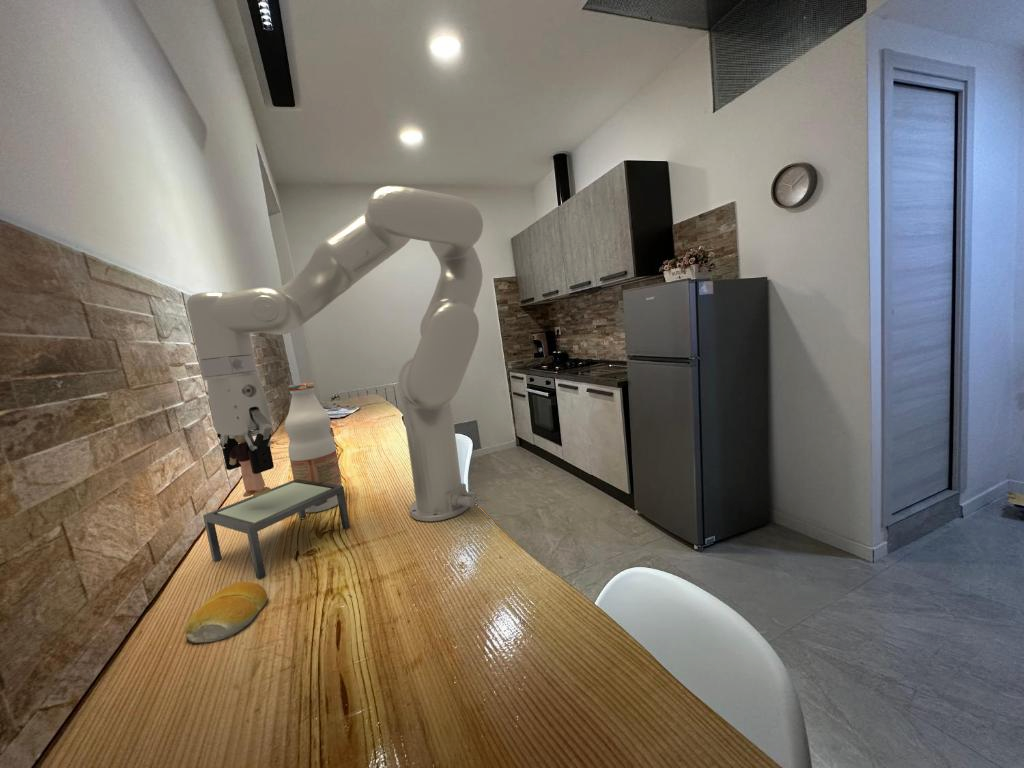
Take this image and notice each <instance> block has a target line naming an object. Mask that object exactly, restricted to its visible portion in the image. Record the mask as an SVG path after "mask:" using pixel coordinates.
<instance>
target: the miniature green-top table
mask: <svg viewBox="0 0 1024 768" xmlns="http://www.w3.org/2000/svg"><path fill="white" fill-rule="evenodd" d="M294 482H295V483H301V484H308V485H314V486H320V487H326V488H332V489H331V490H329V491H327V492H325V493H322V494H320V495H318V496H316V497H313V498H311V499H309V500H307V501H305V502H302V503H300V504H298V505H296V506H293V507H291V508H289V509H287V510H285V511H282V512H280V513H278V514H276V515H273V516H271V517H269V518H267V519H264V520H262V521H260V522H258V523H256V524H253V525H252V524H248V523H244V522H241V521H237V520H234V519H230V518H226V517H223V516H219V515H217V513H218V512H220V511H223V510H225V509H228V508H230V507H233V506H235V505H238V504H240V503H243V502H246V501H248V500H251V499H253V498H256V497H254V496H253V495H251V496H248V497H245V498H244V499H242V500H240V501H237V502H233V503H232V504H228V505H226V506H223V507H220V508H219V509H215V510H214V511H211V512H209V513H206V514H203V515H202V517H203V522H204V527H205V532H206V536H207V541H208V545H209V550H210V554H211V559H212V562H215V563H217V562H218V561H220V560H221V561H222V559H223V558H222V553H221V548H220V547H221V546H220V543H219V537H218V534H217V529H216V526H220V527H223V528H226V529H227V528H228V529H230V530H234V531H237V532H239V533H243V534H247V535H246V536H247V539H248V544H249V549H250V550H249V551H250V554H251V559H252V565H253V570H254V573H255V579H257V580H262V579H263V578H265V577H266V576H267V573H266V568H265V563H264V557H263V554H262V553H263V552H262V548H261V543H260V538H259V533H258V532H261V531H262V530H264V529H267V528H269V527H270V526H273V525H274V524H277V523H279V522H281V521H284V520H286V519H287V518H289V517H292V516H294V515H296V514H298V515H297V516H298V519H299V518H301V519H300V520H303V519H302V518H304V519H306V518H307V513H306V512H305V509H307V508H309V507H311V506H313V505H315V504H318V503H320V502H322V501H324V500H326V499H328V498H330V497H332V496H335V495H337V499H338V505H337V506H338V509H339V517H340V523H341V528H342V529H341V530H344V529H347V530H349V529H350V528H351V523H350V518H349V512H348V511H349V510H348V506H347V499H346V494H345V488H344V485H342V486H340V485H333V484H327V483H320V482H313V481H307V480H300V479H295V480H294V479H293V480H291V481H288V482H286V483H282V484H280V485H277V486H276V487H272V488H270V489H271V490H272V491H273V490H276V489H278V488H281V487H284V486H286V485H289V484H291V483H294ZM305 517H306V518H305ZM348 528H349V529H348Z"/></svg>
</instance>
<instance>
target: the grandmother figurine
mask: <svg viewBox="0 0 1024 768" xmlns="http://www.w3.org/2000/svg"><path fill="white" fill-rule="evenodd" d="M229 438H231V439H235V440H236V441H237V442H238V443H239V444H238V445H236V446H235V447H234V448H233V449H232V451H231V453H230V454H229V456H230V462H229V463H230V465H235V464H236V460H237V459H238V461H239V463H240V464H241V467H240V469H241V470H240V471H241V478H242V482H243V487H244V490H245V492H244V493H243V495H242V496H243V498H244V497H245V498H249V497H252V496H254V497H258V496H261V495H264V494H267V493H269V492H271V491H272V490H271V489H272V488H270V487H268V486H266V483H265V479H264V477H263V474H262V472H261V473H258V474H253V472H252V468H251V463H250V458H249V453H248V451H250V450H251V449H250V447H249V445H248V443H247V441H246V439H245V438H244V436H233V435H230V436H229Z"/></svg>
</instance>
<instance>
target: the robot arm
mask: <svg viewBox="0 0 1024 768" xmlns="http://www.w3.org/2000/svg"><path fill="white" fill-rule="evenodd" d="M483 228H484V220H483V216H482V214H481V211H480V210H479V209H478V207H476V205H475V204H473V202H471V201H469V200H468V199H465V198H463V197H460V196H455V195H451V194H448V193H440V192H435V191H431V190H425V189H419V188H413V187H408V186H402V185H401V186H400V185H386V186H382V187H381V186H380V187H379V188H377V189H376V190H374V191H373V192H372V193H371V195H370V197H369V198H368V202H367V209H365V210H364V211H363V212H361V214H359V215H358V216H356V217H355V218H354V219H353V218H352V220H351V221H349V222H348V223H346V224H345V225H343V226H342V227H341V228H339V229H338V230H336V231H335V232H334V233H332V234H331V235H329V236H327V237H326V238H324V239H323V240H322V241H321V242H320V243H319V244H318V245H317V247H316V248H315V250H314V251H313V253H312V255H311V257H310V259H309V261H308V262H307V264H306V265H305V266H304V267H303V268H302V269H301V270H300V272H299V273H298V274H296V275H295V276H293V278H292V279H290V280H289V281H288V282H286V283H285V284H283V285H282V286H281V287H279V288H278V289H277V288H274V287H270V286H269V287H267V286H262V287H254V288H248V289H243V290H239V291H232V292H226V291H225V292H224V291H211V292H209V291H208V292H207V291H206V292H200V293H198V292H197V293H195V294H192V295H190V296H189V297H188V299H187V302H186V306H187V313H188V317H189V321H190V326H191V330H192V331H191V332H192V335H193V339H194V345H195V349H196V353H197V358H198V362H199V368H200V373H201V377H202V381H206V382H207V384H206V386H207V394H208V395H207V397H208V403H209V408H210V415H211V419H212V425H213V428H214V430H215V432H216V436H217V438H218V439H219V446H220V448H221V450H222V451H221V452H222V455H223V460H224V464H225V468H226V469H225V470H228V471H232V470H235V469H237V468H241V464H240V463H239V461H238V459H237V460H236V464H235V465H230V463H229V462H230V456H229V454H230V453H231V451H232V449H233V448H234V447H235V446H236V445H238V444H240V443H238V442H237V441H236V440H235V439H231V438H229V436H230V435H233V436H244V438H245V439H246V441H247V443H248V445H249V447H250V449H251V450H250V451H248V453H249V458H250V463H251V468H252V472H253V474H258V473H261V474H262V473H264V472H266V471H269V470H272V469H274V467H275V466H274V461H273V459H274V458H273V455H272V449H271V445H272V442H271V438H272V428H273V421H272V420H273V419H272V415H271V411H270V408H269V404H268V400H267V397H266V392H265V389H264V386H263V385H262V380H261V379H260V376H259V373H258V369H257V365H256V359H255V353H254V348H253V344H252V339H251V335H250V334H251V333H259V334H261V333H263V334H270V335H277V336H278V335H279V336H281V335H282V336H283V335H288V334H290V333H292V332H294V331H296V330H297V329H299V328H300V327H301V326H303V325H304V324H306V323H307V322H308V321H310V319H312V318H313V317H315V316H316V315H317V314H319V313H320V312H322V310H324V309H325V308H326V307H328V306H329V304H331V303H332V302H334V301H335V300H336V299H337V298H338V297H340V296H341V295H342V294H344V293H346V291H348V290H349V289H351V288H352V286H353V285H355V284H356V283H358V282H359V281H360V280H361V279H362V278H364V277H365V276H366V275H368V274H369V273H370V272H372V271H373V270H374V269H375V268H377V267H378V266H379V265H381V264H382V263H384V262H385V261H386V260H388V259H390V258H391V257H392V256H393V255H395V254H396V253H397V252H398V251H399V250H401V249H402V248H404V247H405V246H406V245H407V244H408V243H409V242H410V240H416V241H421V242H428V243H429V246H430V248H431V250H432V252H433V253H434V255H435V256H436V257H437V260H438V262H439V265H440V273H439V278H438V280H437V284H436V287H435V290H434V292H433V295H432V297H431V299H430V302H429V305H428V307H427V308H426V311H425V313H424V315H423V316H422V319H421V323H420V331H419V332H420V340H419V342H418V345H417V347H416V349H415V353H414V354H413V357H411V358H409V359H408V360H407V361H406V362H405V363H403V365H402V366H401V368H400V369H399V373H398V378H397V386H398V393H399V397H400V403H401V407H402V413H403V420H404V424H405V432H406V438H407V439H406V440H407V446H408V454H409V460H410V467H411V474H412V476H411V477H412V481H413V482H412V483H413V488H414V494H415V500H414V501H413V502H412V503H411V504H410V505H409V509H408V511H409V516H410V517H411V518H412V519H414V520H416V521H420V522H438V521H439V522H440V521H443V520H448V519H451V518H454V517H457V516H460V515H461V514H462V513H464V512H465V511H467V510H468V509H469V508H474V507H475V505H476V499H477V497H478V495H477V493H476V492H473V491H467V485H466V483H464V482H463V483H462V477H461V471H460V470H461V469H460V465H459V463H460V462H459V453H458V447H457V439H456V437H457V436H456V430H455V429H456V428H455V423H454V415H453V410H452V404H451V402H452V401H453V399H454V398H455V397H456V395H457V393H458V392H459V389H460V386H461V384H462V382H463V380H464V377H465V375H466V372H467V368H468V366H469V364H470V363H471V362H470V361H471V359H472V355H473V354H474V351H475V349H476V345H477V343H478V340H479V339H478V338H479V333H480V332H479V331H480V323H479V318H478V316H477V314H476V312H475V311H474V310H475V307H476V305H477V304H476V303H477V302H478V298H479V295H480V291H481V288H482V285H483V277H484V276H483V275H484V274H483V268H482V264H481V261H480V258H479V255H478V253H477V251H476V249H475V247H474V246H475V245H476V243H477V242H478V241H479V240H480V238H481V237H482V234H483ZM253 437H255V439H254V438H253Z"/></svg>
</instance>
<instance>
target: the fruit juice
mask: <svg viewBox="0 0 1024 768" xmlns="http://www.w3.org/2000/svg"><path fill="white" fill-rule="evenodd" d="M288 390H289V393H290V395H291V399H290V405H289V409H288V414H287V416H286V418H285V421H284V431H285V433H286V435H287V437H288V438H289V443H288V449H287V450H288V458H289V461H290V462H289V463H290V468H291V472H292V473H291V474H292V478H293V480H295V479H300V480H307V481H313V482H320V483H327V484H333V485H340V486H343V482H342V477H341V470H340V464H339V459H338V453H337V446H336V442H335V438H334V437H333V435H332V433H331V423H332V421H331V418H330V415H329V413H328V412H327V410H325V409H324V408H323V406H322V404H321V402H320V401H319V399H318V397H317V396H316V394H315V392H314V391H315V384H314V382H304V383H303V382H302V383H296V384H291V385H288ZM336 506H339V505H338V499H337V495H335V496H332V497H330V498H328V499H327V502H326V503H324V504H322V505H320V506H314V505H313V506H311V507H309V508H307V509H305V512H308V513H307V514H310V513H309V512H313V513H319V512H322V510H323V511H327V510H329V509H332V508H334V507H336ZM331 507H332V508H331ZM326 509H327V510H326ZM318 511H319V512H318Z"/></svg>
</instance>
